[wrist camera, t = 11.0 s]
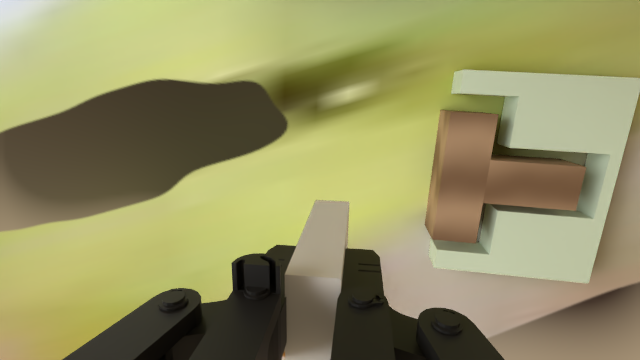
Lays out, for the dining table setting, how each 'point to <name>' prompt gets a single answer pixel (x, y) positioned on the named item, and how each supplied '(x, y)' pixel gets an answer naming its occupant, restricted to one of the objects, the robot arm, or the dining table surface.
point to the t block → (489, 177)
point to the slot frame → (556, 135)
